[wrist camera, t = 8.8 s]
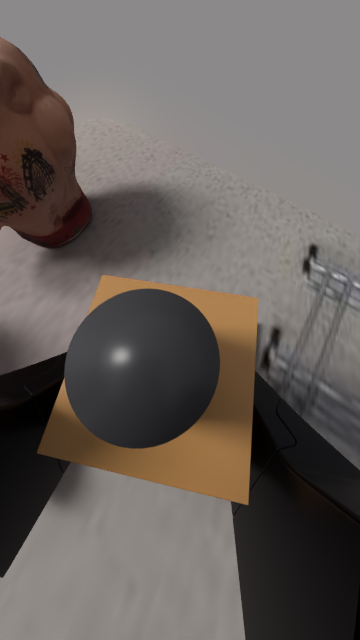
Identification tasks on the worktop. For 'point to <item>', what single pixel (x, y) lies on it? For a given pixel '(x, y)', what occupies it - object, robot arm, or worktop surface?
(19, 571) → the worktop surface
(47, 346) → the worktop surface
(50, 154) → the decorative planter
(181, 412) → the plug
